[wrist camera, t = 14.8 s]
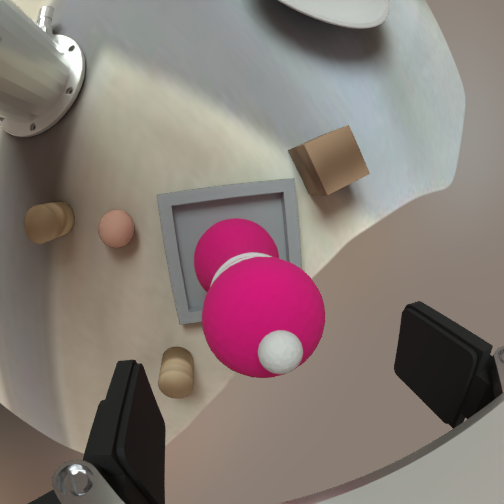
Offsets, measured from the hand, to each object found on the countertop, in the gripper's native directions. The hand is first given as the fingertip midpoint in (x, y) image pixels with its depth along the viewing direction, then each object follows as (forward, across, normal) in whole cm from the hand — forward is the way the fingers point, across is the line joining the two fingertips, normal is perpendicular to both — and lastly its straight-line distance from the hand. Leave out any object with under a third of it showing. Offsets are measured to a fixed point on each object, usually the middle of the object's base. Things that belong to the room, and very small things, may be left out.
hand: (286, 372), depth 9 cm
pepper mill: (+21, -1, +1) cm, 21 cm away
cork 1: (+22, +17, -5) cm, 29 cm away
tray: (+22, -1, +1) cm, 22 cm away
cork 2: (+22, +7, +13) cm, 26 cm away
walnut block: (+22, -11, -7) cm, 25 cm away
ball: (+20, +10, -3) cm, 23 cm away
